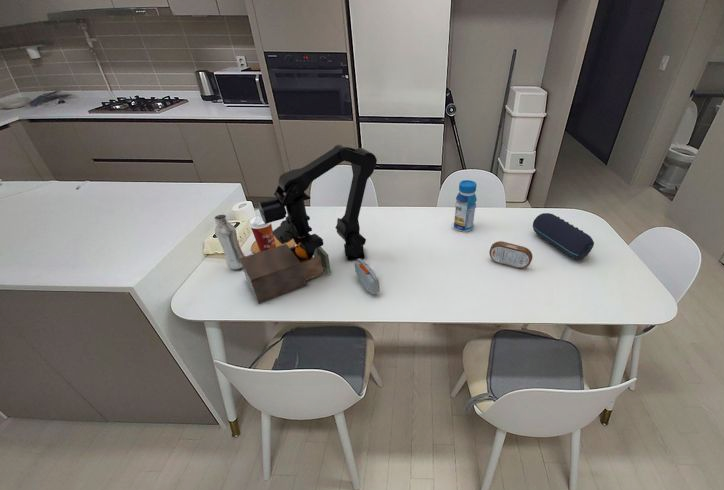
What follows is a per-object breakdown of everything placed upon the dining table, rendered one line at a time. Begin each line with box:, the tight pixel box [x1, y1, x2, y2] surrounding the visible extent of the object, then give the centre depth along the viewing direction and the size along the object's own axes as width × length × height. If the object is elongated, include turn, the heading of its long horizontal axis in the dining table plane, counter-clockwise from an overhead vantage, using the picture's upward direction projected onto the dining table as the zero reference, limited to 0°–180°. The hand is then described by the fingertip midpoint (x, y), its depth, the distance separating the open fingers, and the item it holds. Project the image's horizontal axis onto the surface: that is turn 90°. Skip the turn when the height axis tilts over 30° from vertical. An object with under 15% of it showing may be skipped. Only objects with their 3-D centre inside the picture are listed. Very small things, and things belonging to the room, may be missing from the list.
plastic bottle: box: [214, 214, 246, 270], centre depth 120 cm, size 6×7×20 cm
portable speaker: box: [532, 212, 595, 261], centre depth 135 cm, size 25×10×10 cm, turn 26°
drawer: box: [289, 245, 332, 281], centre depth 120 cm, size 16×12×8 cm
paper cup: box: [248, 215, 277, 252], centre depth 129 cm, size 8×8×14 cm
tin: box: [489, 240, 534, 269], centre depth 125 cm, size 15×3×8 cm, turn 65°
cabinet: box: [239, 243, 307, 304], centre depth 115 cm, size 16×14×10 cm
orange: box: [295, 243, 314, 259], centre depth 118 cm, size 6×6×7 cm
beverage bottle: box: [453, 179, 478, 233], centre depth 143 cm, size 8×8×20 cm
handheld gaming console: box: [353, 258, 381, 295], centre depth 115 cm, size 14×3×8 cm, turn 32°
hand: (305, 254), depth 119 cm, fingers closed on orange, 6 cm apart
